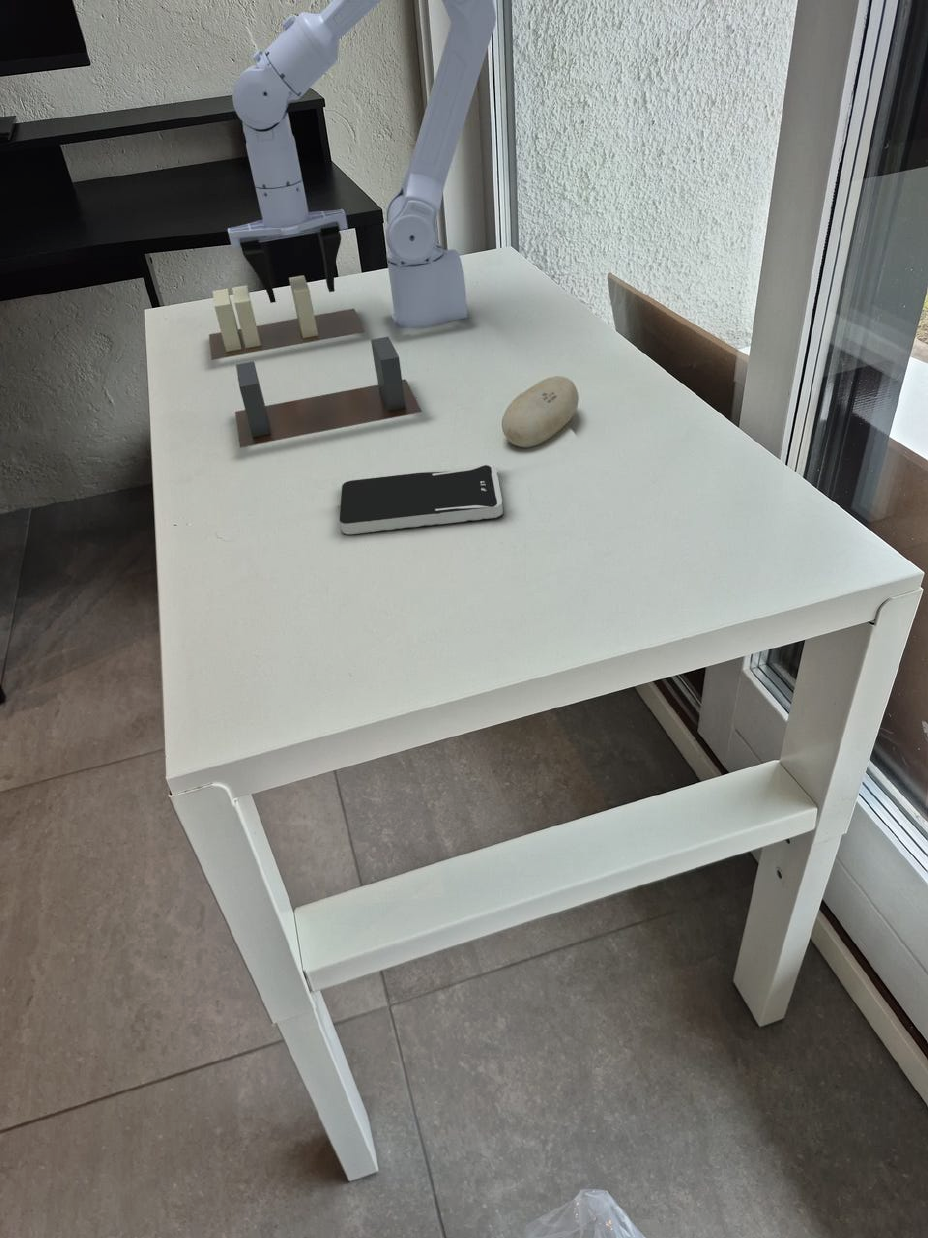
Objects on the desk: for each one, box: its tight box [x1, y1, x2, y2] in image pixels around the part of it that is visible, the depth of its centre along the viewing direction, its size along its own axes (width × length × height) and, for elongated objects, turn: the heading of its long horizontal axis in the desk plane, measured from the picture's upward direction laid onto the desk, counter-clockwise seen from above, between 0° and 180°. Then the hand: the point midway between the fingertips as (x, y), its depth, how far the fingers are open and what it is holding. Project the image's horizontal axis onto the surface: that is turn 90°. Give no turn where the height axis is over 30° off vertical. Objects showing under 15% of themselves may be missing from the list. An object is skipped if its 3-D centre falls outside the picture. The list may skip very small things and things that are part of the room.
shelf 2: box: [234, 378, 423, 449], centre depth 101 cm, size 20×9×1 cm, turn 105°
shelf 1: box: [208, 308, 366, 361], centre depth 120 cm, size 20×9×1 cm, turn 105°
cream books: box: [212, 284, 261, 352], centre depth 117 cm, size 4×6×6 cm
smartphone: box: [339, 464, 504, 536], centre depth 85 cm, size 8×1×15 cm
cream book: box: [288, 275, 318, 338], centre depth 118 cm, size 2×6×6 cm, turn 14°
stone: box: [501, 375, 580, 449], centre depth 93 cm, size 6×6×12 cm
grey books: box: [235, 336, 406, 438], centre depth 99 cm, size 17×6×6 cm, turn 105°
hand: (301, 294), depth 117 cm, fingers open, 7 cm apart
